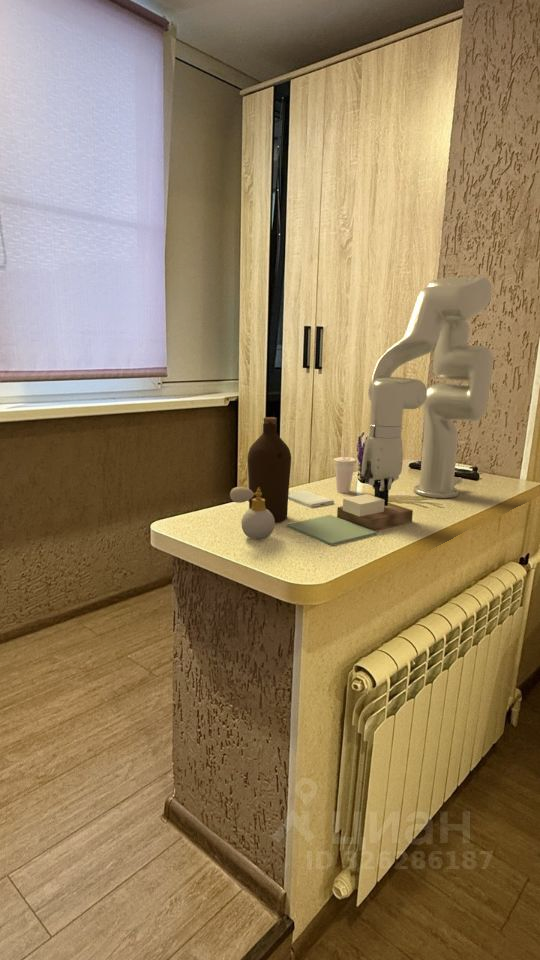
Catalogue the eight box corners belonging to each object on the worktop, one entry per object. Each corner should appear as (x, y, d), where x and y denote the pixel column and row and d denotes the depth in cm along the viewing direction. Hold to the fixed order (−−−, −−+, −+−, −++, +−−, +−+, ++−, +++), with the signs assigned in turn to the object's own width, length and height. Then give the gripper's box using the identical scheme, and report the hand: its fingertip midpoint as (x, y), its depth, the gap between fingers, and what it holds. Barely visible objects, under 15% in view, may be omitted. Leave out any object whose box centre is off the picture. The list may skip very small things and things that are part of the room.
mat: (330, 517, 151) (330, 514, 151) (376, 534, 138) (376, 531, 138) (286, 526, 143) (286, 524, 142) (331, 545, 130) (331, 543, 130)
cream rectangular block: (366, 505, 151) (367, 494, 150) (383, 511, 146) (384, 499, 145) (342, 510, 146) (343, 498, 146) (359, 516, 141) (360, 504, 141)
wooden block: (376, 510, 158) (377, 499, 157) (411, 521, 148) (412, 510, 148) (337, 518, 150) (337, 507, 149) (372, 531, 140) (372, 519, 139)
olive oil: (297, 516, 151) (300, 417, 145) (275, 527, 142) (278, 422, 136) (261, 509, 156) (262, 413, 150) (238, 519, 147) (239, 418, 141)
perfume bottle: (281, 539, 134) (282, 487, 131) (245, 548, 128) (245, 493, 125) (261, 530, 139) (262, 480, 137) (226, 538, 134) (226, 486, 131)
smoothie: (327, 491, 176) (329, 444, 172) (340, 487, 180) (343, 441, 177) (345, 495, 172) (348, 447, 168) (358, 491, 176) (361, 444, 173)
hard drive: (282, 493, 168) (310, 504, 158) (305, 489, 173) (334, 499, 163) (282, 499, 169) (310, 510, 159) (305, 495, 173) (333, 505, 163)
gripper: (394, 427, 152) (389, 497, 156) (351, 432, 143) (348, 506, 148) (417, 431, 146) (412, 503, 151) (374, 437, 137) (370, 513, 142)
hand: (380, 504), depth 149 cm, fingers closed
